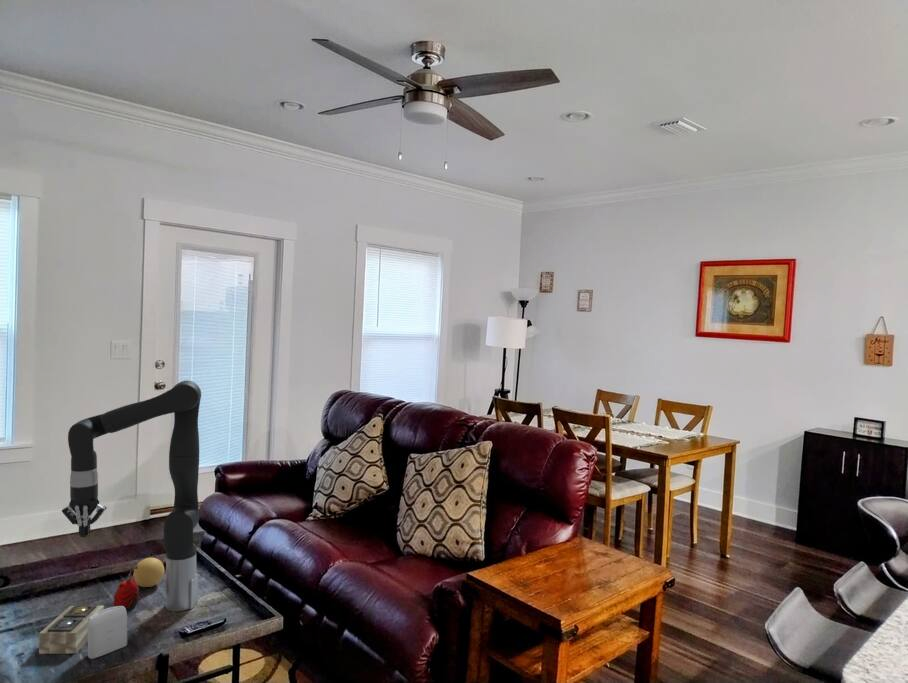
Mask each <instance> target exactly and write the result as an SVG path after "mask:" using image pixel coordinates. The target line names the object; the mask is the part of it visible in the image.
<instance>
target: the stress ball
mask: <svg viewBox="0 0 908 683" xmlns="http://www.w3.org/2000/svg"><path fill="white" fill-rule="evenodd" d="M135 567H138V569H133V577H132V579H135V582H136V584H137V585H138V586H140V587H143V588H145V587H150V588H153V587H154V586H156V585H157V584H159V583H160V582H161V580H162V579H163V577H164V575H165V566H164V563H163V562H162V561H161V560H160V559H158V558H155V557H147V558H146V557H145V558H143V559H141V561H139V562H137V564H136V565H135Z"/></svg>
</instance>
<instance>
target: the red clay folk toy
mask: <svg viewBox="0 0 908 683" xmlns="http://www.w3.org/2000/svg"><path fill="white" fill-rule="evenodd" d="M134 565H135V564H133V563H132V564H131V566H127V567H128V568H130V570H129V573H128V579H127V580H124V581H122V582H120V583H119V585H118V588H117V589H116V591H115V592H114V595H113V603H112V604H113V607H115V606H124V607H125V608H126V611H127V610H132V609H134V608H135V607H136V605H138V602H139V601H140V600H139V597H140V594H139V593H140V592H139V591H140V588H139V585H138V584H137V583H136V582H135V579H134V578H131V577H132V570H134V569H138V567H136V566H134ZM133 566H134V567H133Z"/></svg>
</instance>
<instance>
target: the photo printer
mask: <svg viewBox="0 0 908 683" xmlns="http://www.w3.org/2000/svg"><path fill="white" fill-rule="evenodd" d="M127 613H128V612H127V610H126V608H125V607H124V606H115V607H114V606H110V607H107V608H104V610H102V611H100V612H98V613H96V614H94V615H92V616H91V617H90V618H88V641H87V657H88V658H89V659H91V660H93V659H97V658H99V657H102V656H104V655H107V654H110V653H113V652H114V651H118V650H119V649H122V648H125V647H126V646H127V645H128V614H127Z"/></svg>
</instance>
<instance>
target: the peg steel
mask: <svg viewBox="0 0 908 683" xmlns="http://www.w3.org/2000/svg"><path fill="white" fill-rule="evenodd" d="M72 625H73V621H72V620H64V621H61V622H60V623H58V628H70V627H71V626H72Z"/></svg>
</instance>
